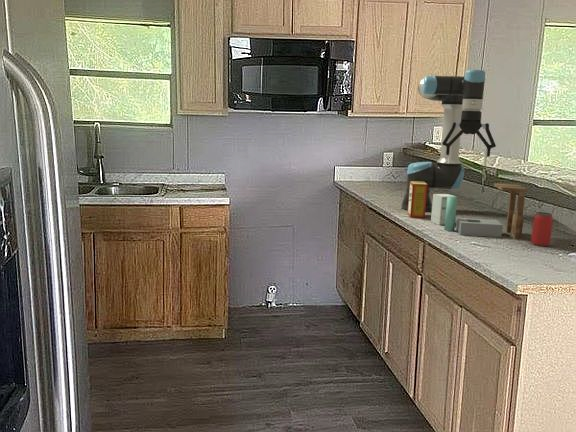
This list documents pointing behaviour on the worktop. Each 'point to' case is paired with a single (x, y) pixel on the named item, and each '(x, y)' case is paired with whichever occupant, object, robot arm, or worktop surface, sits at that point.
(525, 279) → the worktop surface
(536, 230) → the beer can
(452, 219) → the peg
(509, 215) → the wooden t-shaped stand
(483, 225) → the socket
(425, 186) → the baking soda box
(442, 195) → the supplement box
